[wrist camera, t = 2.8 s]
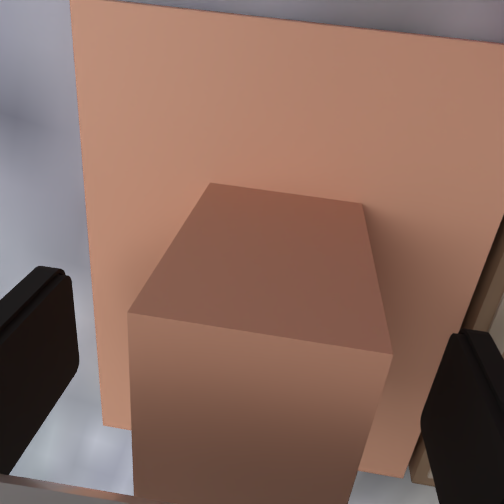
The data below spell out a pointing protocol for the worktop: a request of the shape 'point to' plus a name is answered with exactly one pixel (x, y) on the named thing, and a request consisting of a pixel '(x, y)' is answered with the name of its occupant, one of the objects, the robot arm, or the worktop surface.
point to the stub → (278, 239)
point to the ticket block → (476, 318)
